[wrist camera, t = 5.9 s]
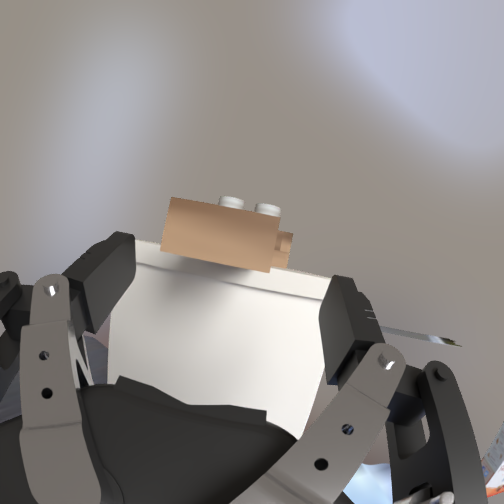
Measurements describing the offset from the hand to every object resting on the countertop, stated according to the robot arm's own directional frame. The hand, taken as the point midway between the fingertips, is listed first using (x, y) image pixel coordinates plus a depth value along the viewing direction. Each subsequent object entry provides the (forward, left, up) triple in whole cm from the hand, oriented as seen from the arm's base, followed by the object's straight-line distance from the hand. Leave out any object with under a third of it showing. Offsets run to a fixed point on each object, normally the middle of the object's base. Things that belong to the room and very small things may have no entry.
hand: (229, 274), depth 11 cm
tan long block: (+13, +9, 0) cm, 16 cm away
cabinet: (+18, +12, -32) cm, 38 cm away
